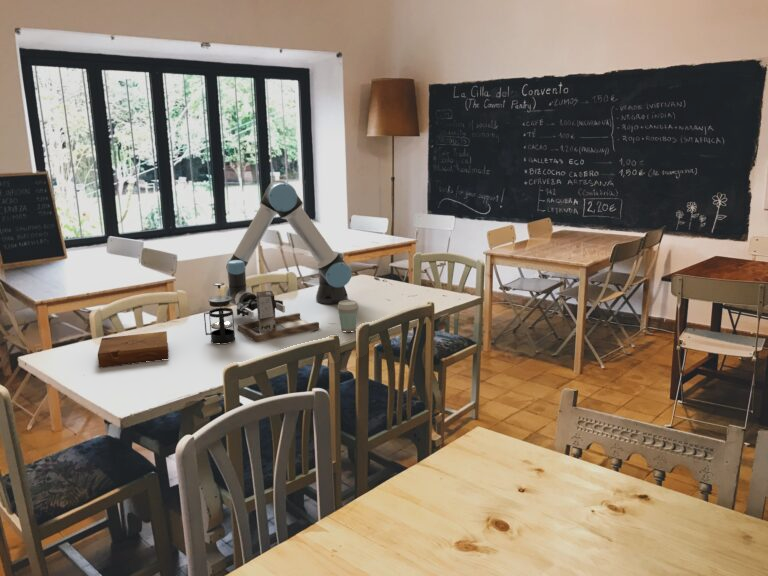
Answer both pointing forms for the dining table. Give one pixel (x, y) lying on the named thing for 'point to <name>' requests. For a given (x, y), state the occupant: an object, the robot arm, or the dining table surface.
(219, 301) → the french press
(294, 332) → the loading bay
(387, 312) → the dining table surface
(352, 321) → the coffee cup
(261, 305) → the coffee box
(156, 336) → the brown wooden flat block
